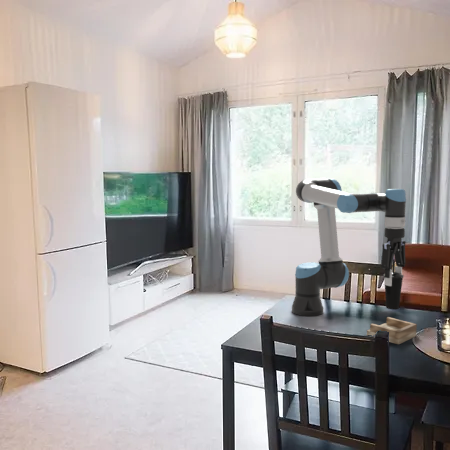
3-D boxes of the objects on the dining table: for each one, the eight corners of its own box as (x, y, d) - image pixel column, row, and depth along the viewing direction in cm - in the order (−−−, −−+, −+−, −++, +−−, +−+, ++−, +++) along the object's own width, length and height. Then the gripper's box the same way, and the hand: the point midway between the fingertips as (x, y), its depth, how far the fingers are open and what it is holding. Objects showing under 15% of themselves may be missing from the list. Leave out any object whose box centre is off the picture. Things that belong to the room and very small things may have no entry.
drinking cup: (404, 311, 180) (405, 261, 178) (384, 310, 181) (385, 261, 179) (400, 305, 187) (402, 258, 185) (381, 304, 189) (382, 257, 187)
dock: (366, 335, 187) (367, 323, 186) (385, 327, 196) (385, 316, 195) (398, 344, 176) (398, 332, 175) (416, 336, 185) (416, 324, 184)
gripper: (390, 230, 172) (388, 289, 174) (416, 226, 184) (414, 281, 187) (372, 228, 177) (371, 286, 180) (398, 224, 190) (397, 278, 192)
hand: (393, 283), depth 183 cm, fingers closed on drinking cup, 7 cm apart
